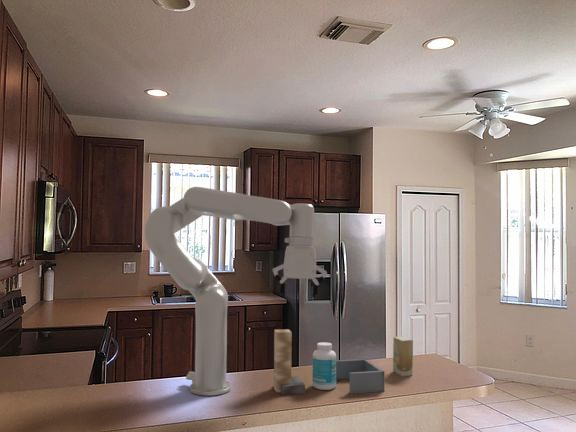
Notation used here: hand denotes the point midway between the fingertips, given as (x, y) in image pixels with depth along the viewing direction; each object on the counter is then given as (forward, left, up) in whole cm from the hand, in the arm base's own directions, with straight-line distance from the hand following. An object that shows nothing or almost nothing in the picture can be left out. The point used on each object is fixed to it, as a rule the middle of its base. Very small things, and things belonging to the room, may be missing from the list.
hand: (298, 296), depth 148 cm
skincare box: (+25, +31, -29) cm, 49 cm away
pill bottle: (+7, +5, -29) cm, 30 cm away
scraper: (-2, -3, -28) cm, 29 cm away
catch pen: (+16, +12, -28) cm, 34 cm away
